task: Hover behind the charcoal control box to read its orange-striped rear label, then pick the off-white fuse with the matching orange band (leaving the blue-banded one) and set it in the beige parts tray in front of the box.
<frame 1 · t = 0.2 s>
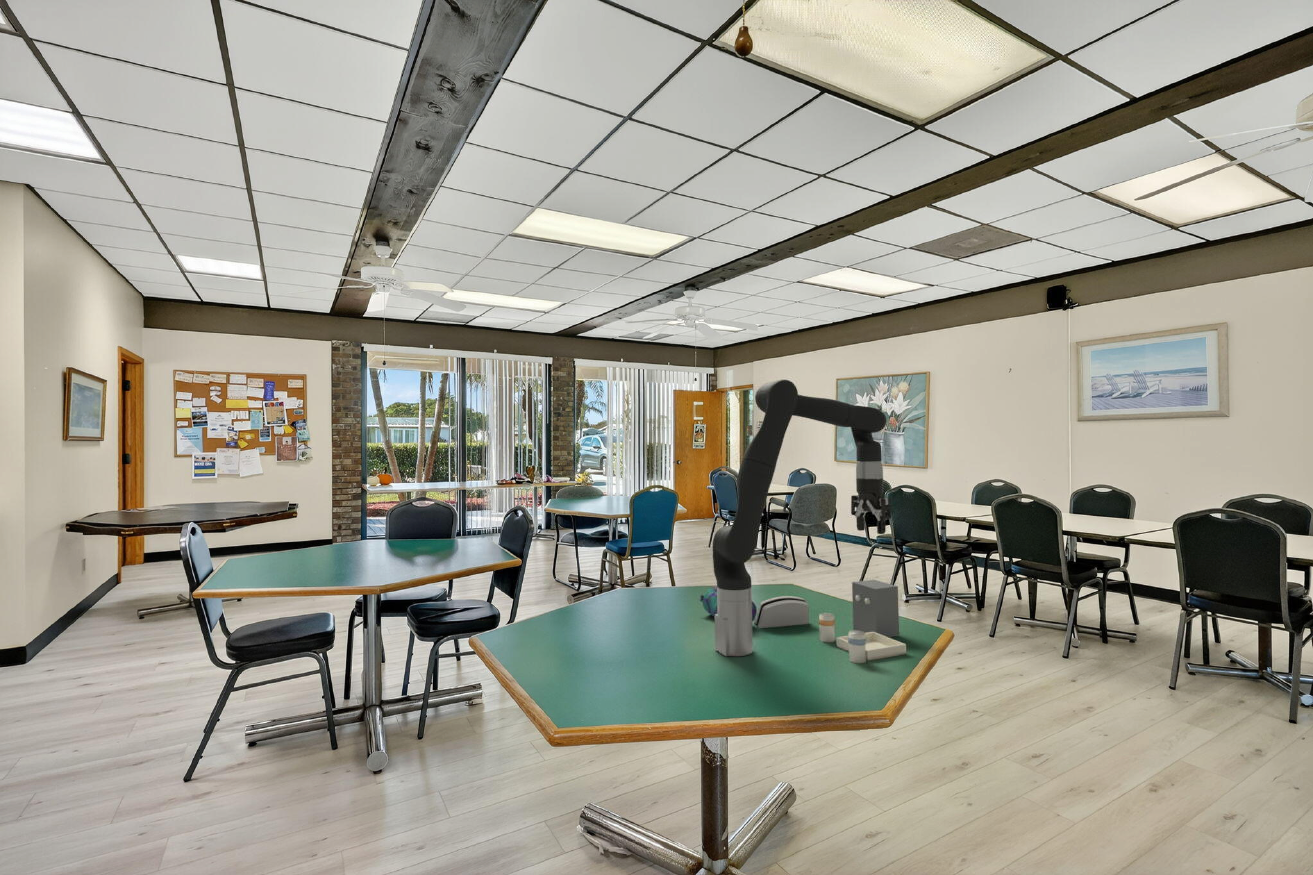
hand: (870, 532, 180), 29 cm above the table, tool pointing down, fingers open, 8 cm apart
white slotted rounded block: (783, 626, 188), on the table
control box: (875, 632, 179), on the table
orange-band fuse: (827, 640, 172), on the table
parts tray: (870, 650, 163), on the table
pencil case: (728, 621, 194), on the table
blue-band fuse: (857, 660, 155), on the table
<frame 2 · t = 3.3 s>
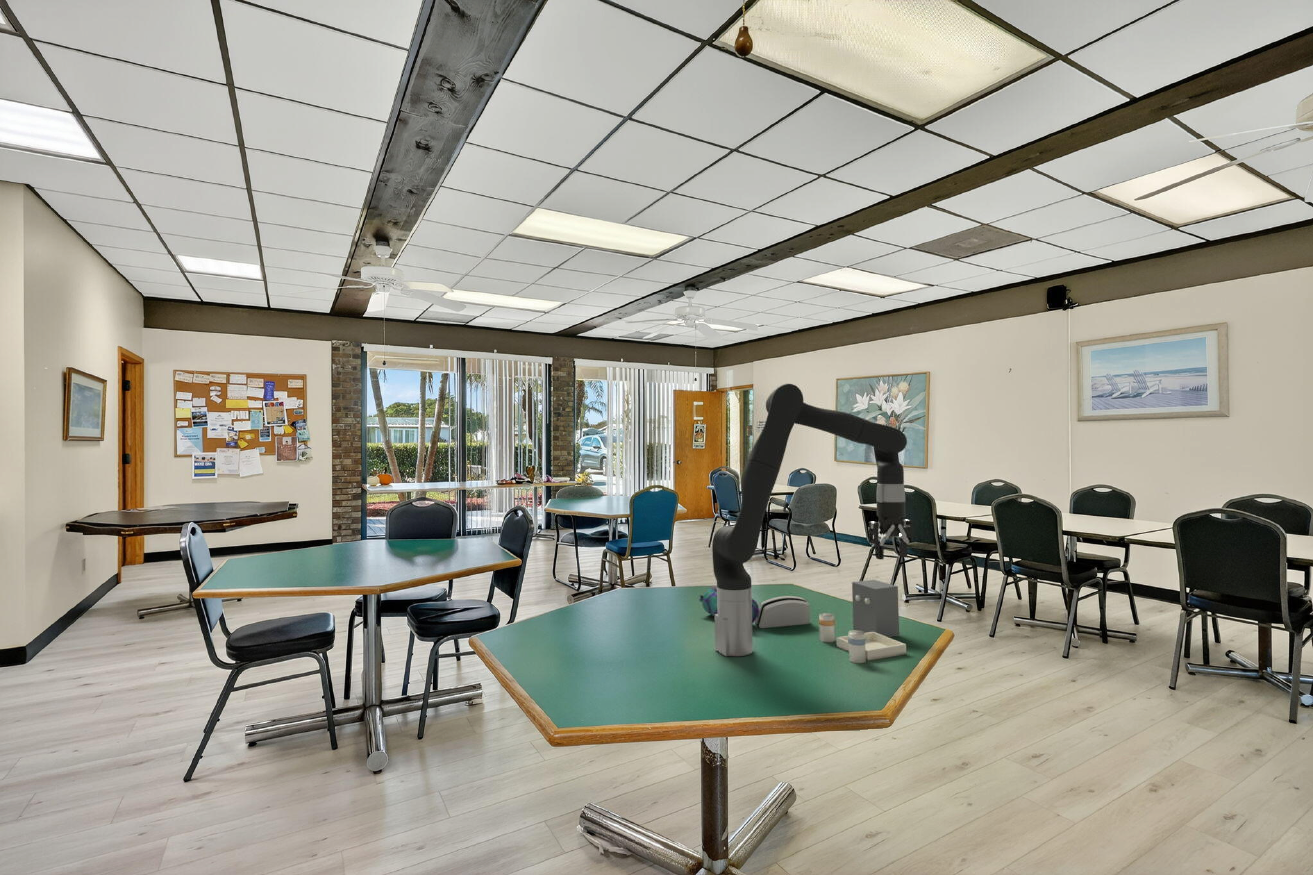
hand: (891, 558, 171), 23 cm above the table, tool pointing down, fingers open, 8 cm apart
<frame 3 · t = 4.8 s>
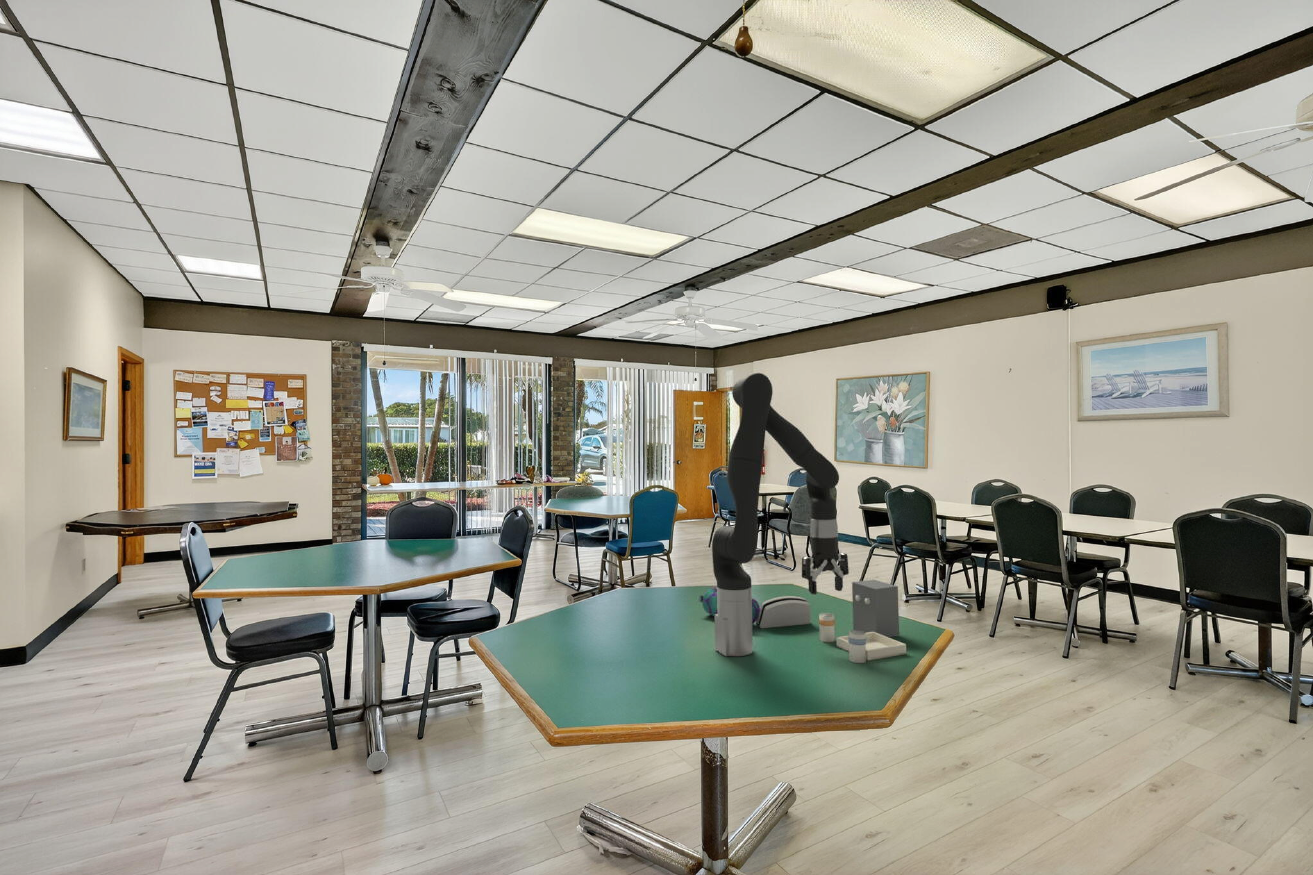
hand: (825, 592, 173), 13 cm above the table, tool pointing down, fingers open, 8 cm apart
nothing on the table moved.
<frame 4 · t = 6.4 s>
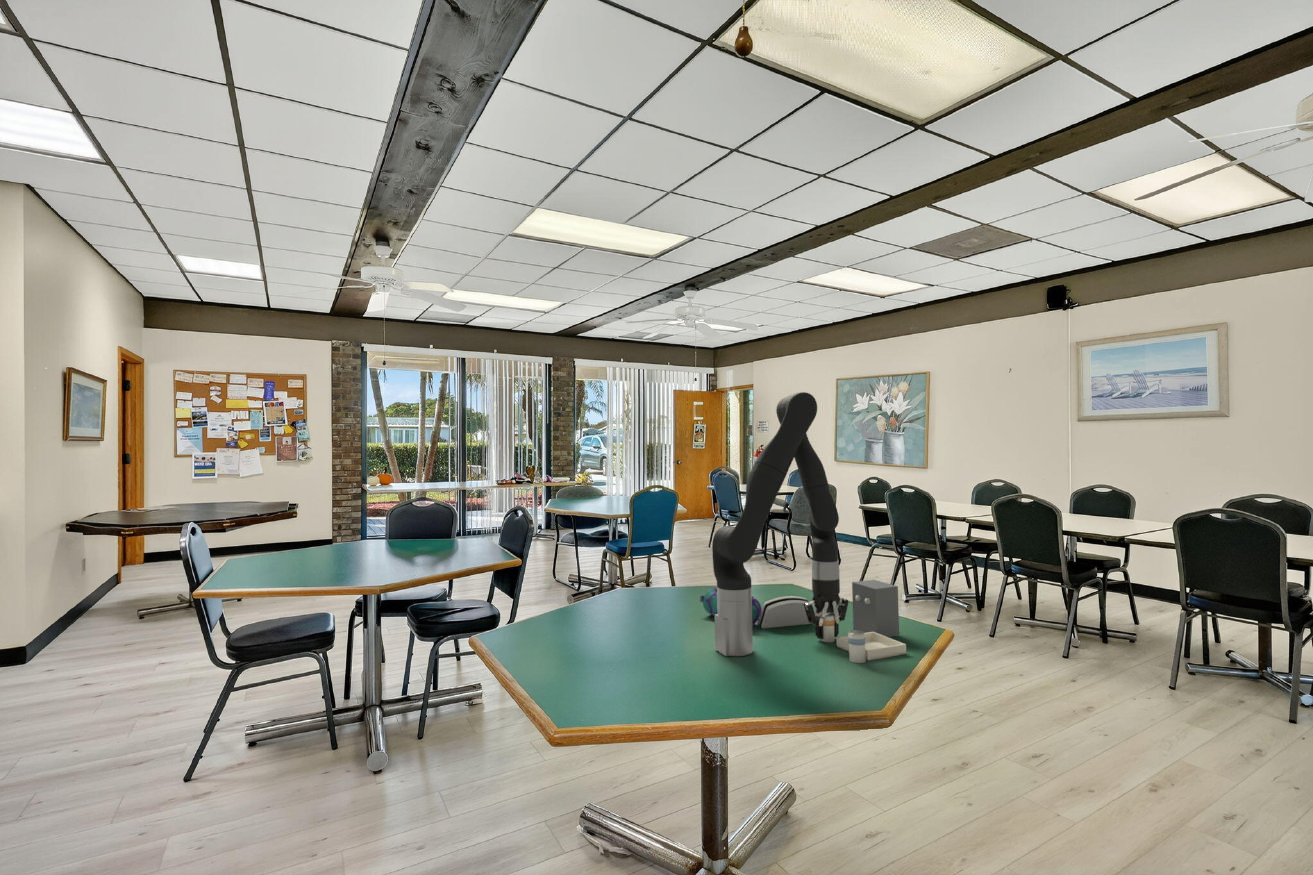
hand: (827, 637, 172), 1 cm above the table, tool pointing down, fingers closed on orange-band fuse, 4 cm apart
orange-band fuse: (827, 639, 172), on the table, touching gripper
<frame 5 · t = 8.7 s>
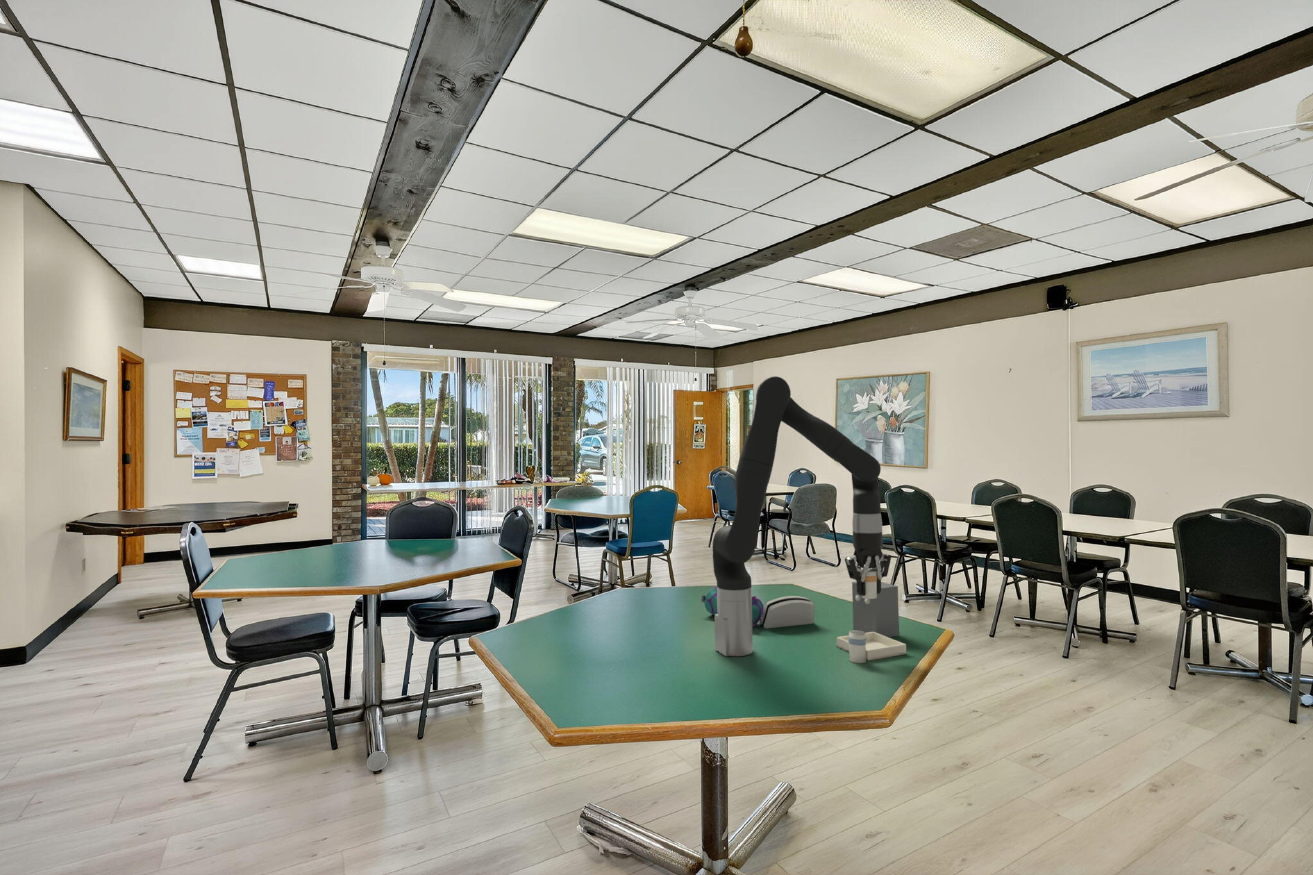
hand: (869, 593, 163), 15 cm above the table, tool pointing down, fingers closed on orange-band fuse, 4 cm apart
orange-band fuse: (869, 596, 164), point 14 cm above the table, touching gripper
when the fingers open (3 cm above the table, at t = 11.2 s): orange-band fuse drops 1 cm, resting on parts tray.
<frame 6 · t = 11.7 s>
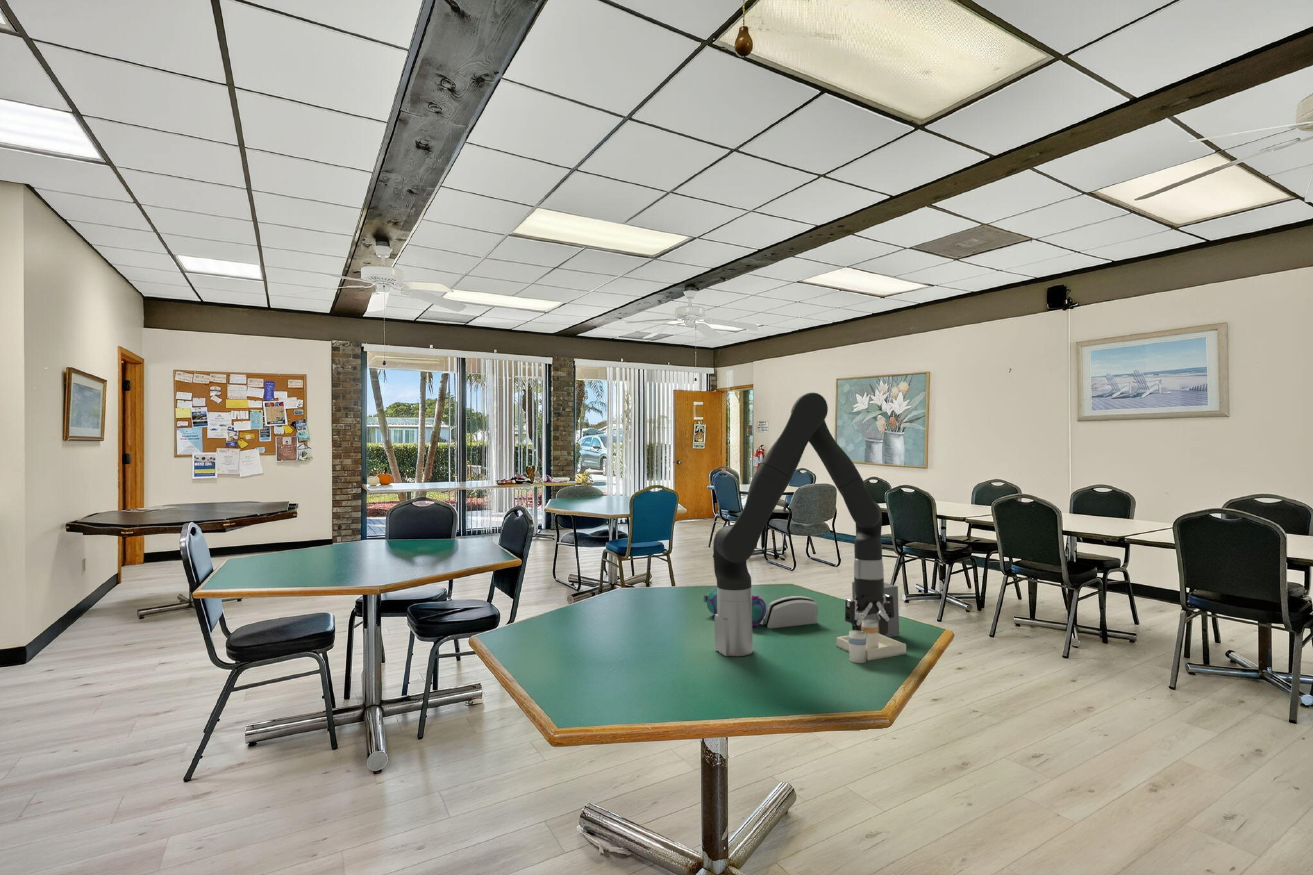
hand: (870, 636, 163), 4 cm above the table, tool pointing down, fingers open, 8 cm apart
white slotted rounded block: (791, 625, 188), on the table
orange-band fuse: (870, 648, 163), point 1 cm above the table, touching parts tray
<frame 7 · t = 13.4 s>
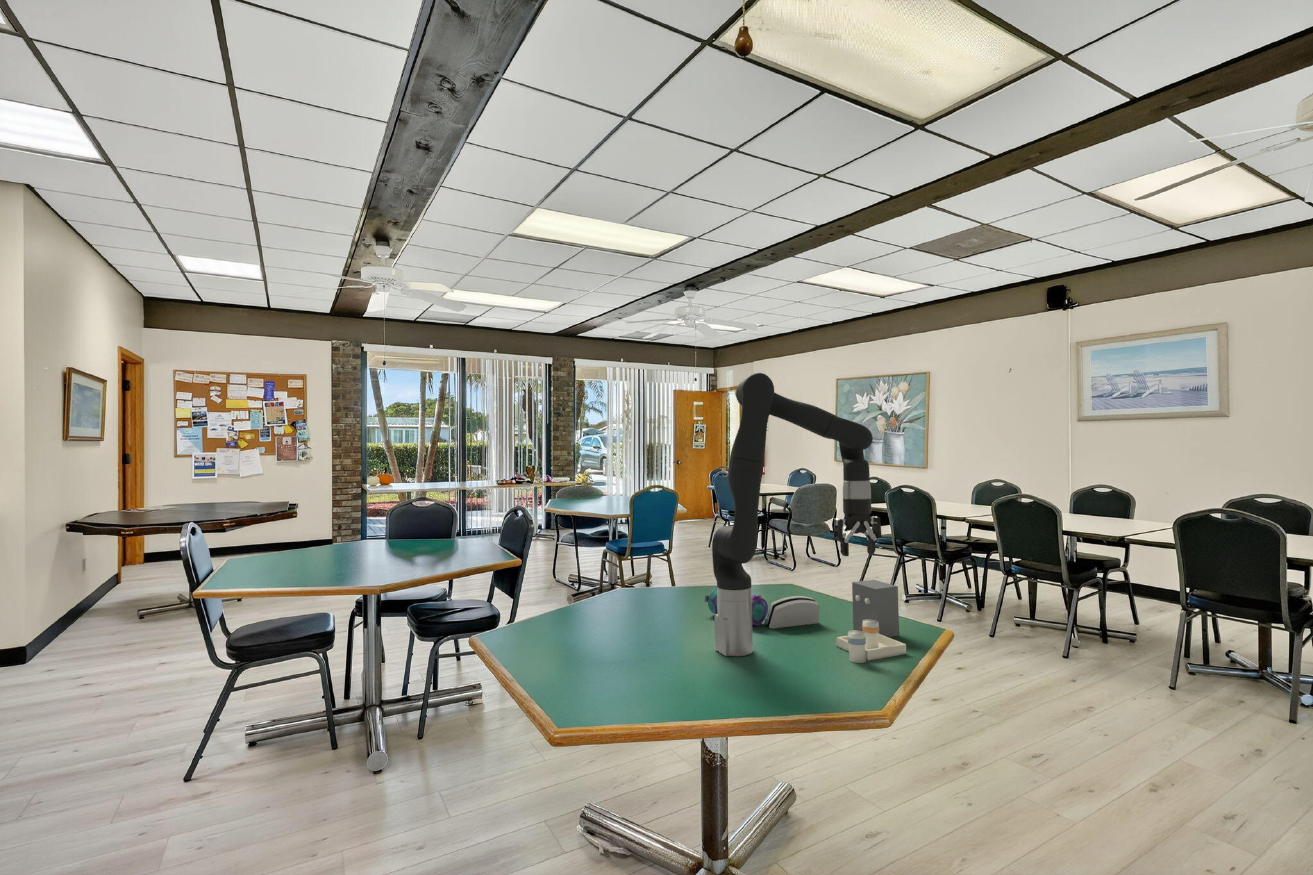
hand: (858, 554, 171), 24 cm above the table, tool pointing down, fingers open, 8 cm apart
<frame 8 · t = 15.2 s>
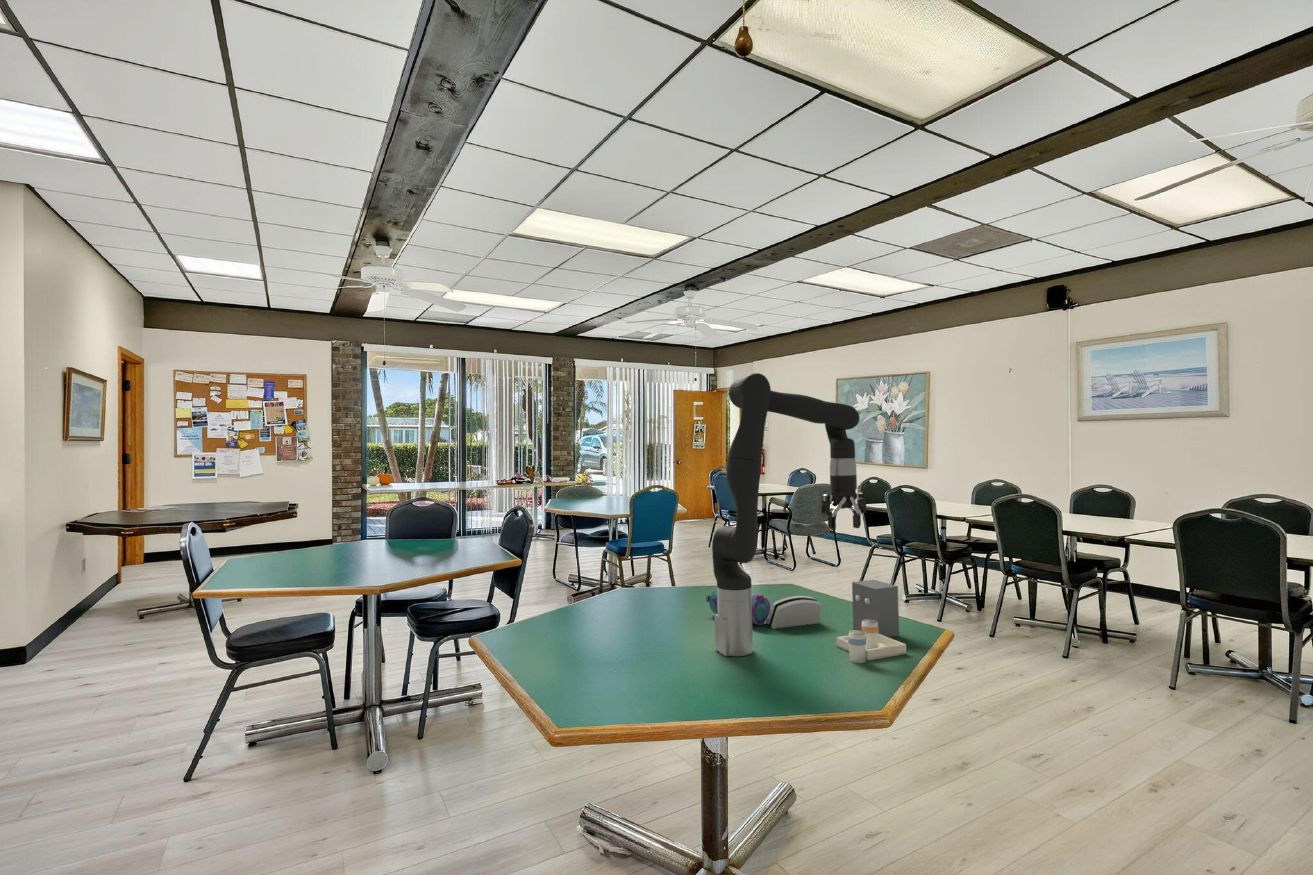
hand: (844, 528, 180), 30 cm above the table, tool pointing down, fingers open, 8 cm apart
at the end: orange-band fuse inside the target area on the parts tray (0.1 cm from its centre), point 0.5 cm above the parts tray's base; orange-band fuse tilted 1°; blue-band fuse moved 0.4 cm from its start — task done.
